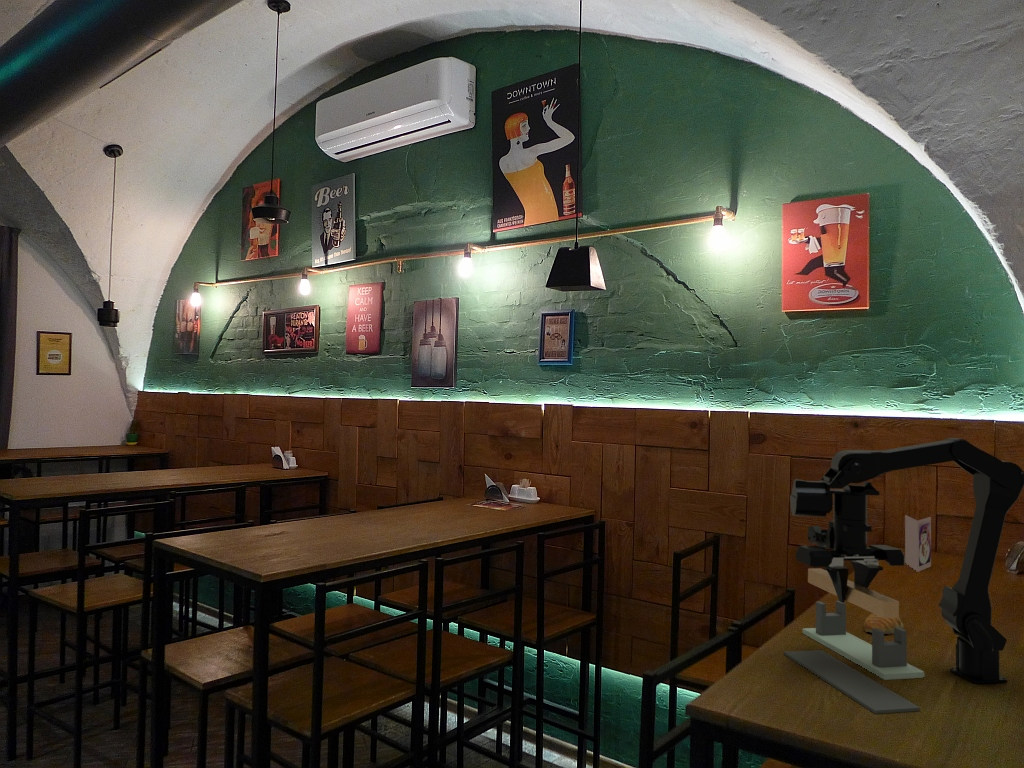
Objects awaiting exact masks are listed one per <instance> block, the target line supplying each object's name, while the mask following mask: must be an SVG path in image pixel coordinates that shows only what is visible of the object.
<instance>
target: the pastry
mask: <svg viewBox="0 0 1024 768" xmlns="http://www.w3.org/2000/svg"><path fill="white" fill-rule="evenodd" d="M863 627H864V628H863V630H864V631H865V633H872V628H878V629H880V630H882V631H884V634H888V635H894V627H900V628H902V629H904V623H902V621H901V619H900V617H899V618H882V617H880V616H878V615H876V614H874V613H871V614H869V615H868V616H866V618H865V619H864V625H863Z"/></svg>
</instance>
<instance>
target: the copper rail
mask: <svg viewBox="0 0 1024 768" xmlns="http://www.w3.org/2000/svg"><path fill="white" fill-rule="evenodd" d="M807 583H809V584H811V585H813V586H815V587H816V588H819V589H821V590H824V591H825V592H827V593H829V594H831V595H833V596H835V597H838V596H837V594H836V591H835V588H834V585H833V582H832V580H831V577H830V575H829V573H828V572H827V570H826V569H825V568H824V569H823V568H822V567H818V568H817V567H816V568H815V567H813V568H808V569H807ZM845 601H846V602H849V603H851V604H853V605H855V606H856V607H859V608H861V609H863V610H865V611H867V612H870V613H871V614H876V615H878V616H880V617H882V618H899V619H900V601H899V600H896V599H894V598H891V597H889V596H888V595H885V594H883V593H880V592H878V591H876V590H873V589H871V588H869V587H868V588H866V587H864V586H861V585H859V584H857V583H854V581H852V580H849V579H848V580H847V590H846V597H845Z"/></svg>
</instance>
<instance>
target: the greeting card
mask: <svg viewBox="0 0 1024 768" xmlns="http://www.w3.org/2000/svg"><path fill="white" fill-rule="evenodd" d="M904 530H905V531H904V535H905V536H904V540H905V541H904V545H905V546H904V553H905V554H904V556H905V563H906V564H905V565H907V566H908V565H909V566H908V567H910V568H911V569H912V568H913V570H914V571H915V570H916V571H915V572H916V573H919V572H921V571H923V570H926V569H928V568H931V566H932V517H931V516H929V517H925V518H922V519H919V520H917V519H915V518H912V517H911V516H909V515H907V514H905V516H904Z"/></svg>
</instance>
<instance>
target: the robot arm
mask: <svg viewBox="0 0 1024 768" xmlns="http://www.w3.org/2000/svg"><path fill="white" fill-rule="evenodd" d="M948 462H953V463H954V464H956V465H958V467H960V468H961V469H962V470H963V471H965V472H967V473H968V474H969V475H971V476H973V477H972V479H973V480H972V481H973V482H972V490H973V491H972V492H973V495H974V499H975V510H974V514H973V518H972V523H971V526H970V530H969V535H968V539H967V544H966V547H965V552H964V556H963V560H962V565H961V569H960V574H959V578H958V580H957V581H956V583H954V585H953V586H952V587H951V586H950V587H949V586H947V585H944V586H943V587H942V598H941V600H940V602H939V603H938V607H939V608H941V613H940V614H941V617H942V619H943V620H944V621H945V623H946V624H948V625H949V626H950V628H951V630H952V632H953V634H955V636H956V644H955V666H954V667H953V666H952V667H949V672H951V673H954V674H956V675H957V676H960V677H962V678H964V679H966V680H968V681H970V682H972V683H975V684H993V683H994V684H995V683H1006V682H1008V678H1006V677H1004V676H1002V675H1000V652H1001V651H1003V650H1004V649H1005V645H1006V644H1007V638H1006V637H1004V636H1003V635H1002V634H1001V633H1000V632H999V631H998V630H997V629H996V628H995V627H994V626H992V618H993V617H992V615H993V614H992V613H993V607H992V602H991V598H990V593H989V592H990V591H989V587H990V583H991V580H992V576H993V575H992V574H993V570H994V566H995V562H996V558H997V554H998V549H999V544H1000V541H1001V537H1002V533H1003V528H1004V526H1005V525H1004V524H1005V520H1006V516H1007V514H1008V512H1009V511H1010V509H1011V508H1012V507H1013V506H1014V504H1015V503H1016V502H1017V501H1018V500H1019V497H1020V495H1021V493H1022V491H1023V488H1024V471H1023V469H1022V468H1021V467H1020V466H1019V465H1018V464H1017V463H1015V462H1012V461H1006V460H1000V459H999V458H998V457H996V456H993V455H992V454H990V453H988V452H986V451H984V450H983V449H980V448H979V447H977V446H976V445H973V444H972V443H971V442H969V441H968V440H966V439H963V438H959V437H958V438H957V437H949V438H946V439H943V440H939V441H938V440H937V441H932V442H925V443H920V444H914V445H907V446H901V447H895V448H888V449H883V450H876V449H875V450H867V449H865V450H864V449H843V450H840V451H838V452H836V453H834V455H833V457H832V458H831V461H830V467H829V469H827V471H826V472H825V473H824V474H823V476H822V477H821V478H820V479H819V480H804V479H796V478H795V479H793V483H792V484H793V485H792V489H791V494H790V496H789V498H790V499H789V501H790V502H789V504H790V510H791V514H792V516H797V517H819V518H820V517H821V518H824V517H827V514H830V513H831V512H832V511H833V519H832V520H829V522H828V527H827V529H822V527H821V526H820V525H810V526H808V527H807V539H808V543H809V544H817V545H799V546H798V547H797V549H796V550H795V561H797V562H800V563H802V564H804V565H806V566H809V567H813V568H815V567H816V568H817V567H818V568H824V570H826V571H827V572H828V573H829V575H830V577H831V580H832V582H833V585H834V588H835V591H836V594H837V596H836V597H837V598H838V599H837V600H838V601H840V602H842V603H845V601H846V600H845V597H846V590H847V580H849V579H848V578H849V569H850V568H848V567H846V566H845V565H844V563H845V561H849V562H850V563H851V566H852V568H853V571H854V575H853V576H854V577H853V578H854V579H853V580H854V581H853V582H854V583H857V584H859V585H861V586H864V587H866V588H868V589H869V587H870V585H871V583H872V582H873V580H874V579H875V578H876V576H877V574H878V573H879V572H880V571H884V567H883V566H880V565H879V561H885V562H886V563H887V564H888V566H892V567H895V566H897V567H899V566H901V567H902V566H905V565H906V564H905V554H904V552H903V550H902V549H900V548H897V547H893V546H892V545H891V546H890V545H888V544H869V546H868V532H872V530H873V529H872V525H869V524H868V496H880V495H881V492H880V491H879V490H877V489H876V488H875V487H874V485H873V484H872V483H871V481H869V480H872V479H876V478H878V477H879V476H882V475H884V474H887V473H889V472H891V471H899V470H905V469H910V468H917V467H923V466H924V467H925V466H929V465H937V464H942V463H948ZM860 483H862V484H861V485H860ZM829 549H831V550H829Z"/></svg>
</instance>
